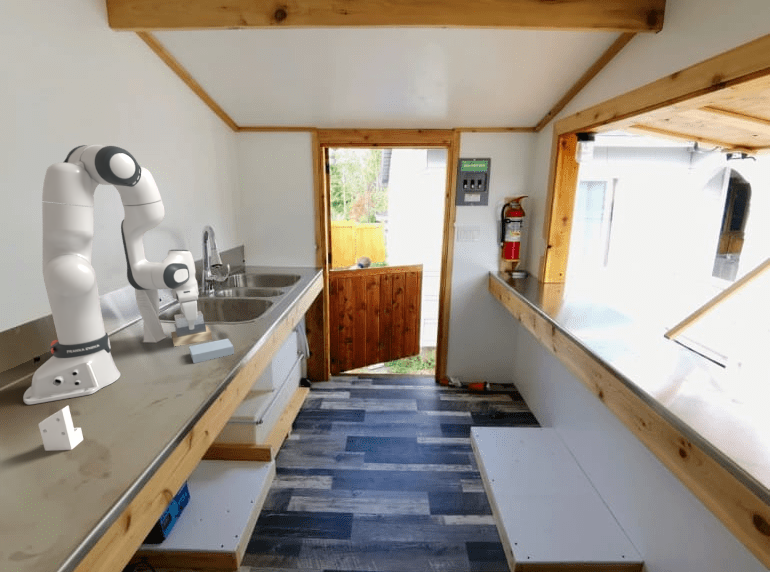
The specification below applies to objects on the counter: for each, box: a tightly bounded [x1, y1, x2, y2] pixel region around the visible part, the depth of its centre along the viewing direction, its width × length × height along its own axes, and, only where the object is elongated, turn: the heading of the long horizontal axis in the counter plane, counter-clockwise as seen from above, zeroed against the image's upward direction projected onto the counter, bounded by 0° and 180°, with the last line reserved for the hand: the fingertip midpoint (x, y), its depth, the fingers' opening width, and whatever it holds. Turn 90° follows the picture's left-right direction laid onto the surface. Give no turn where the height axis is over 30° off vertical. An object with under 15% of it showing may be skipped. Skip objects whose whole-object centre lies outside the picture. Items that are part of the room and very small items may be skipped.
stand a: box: [170, 325, 213, 348], centre depth 149 cm, size 13×9×3 cm
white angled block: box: [37, 405, 84, 452], centre depth 86 cm, size 4×10×9 cm
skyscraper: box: [134, 288, 169, 344], centre depth 146 cm, size 8×8×28 cm
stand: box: [188, 338, 235, 364], centre depth 135 cm, size 13×9×3 cm
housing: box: [174, 310, 207, 337], centre depth 148 cm, size 10×6×7 cm, turn 123°
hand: (190, 326), depth 148 cm, fingers closed on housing, 6 cm apart
